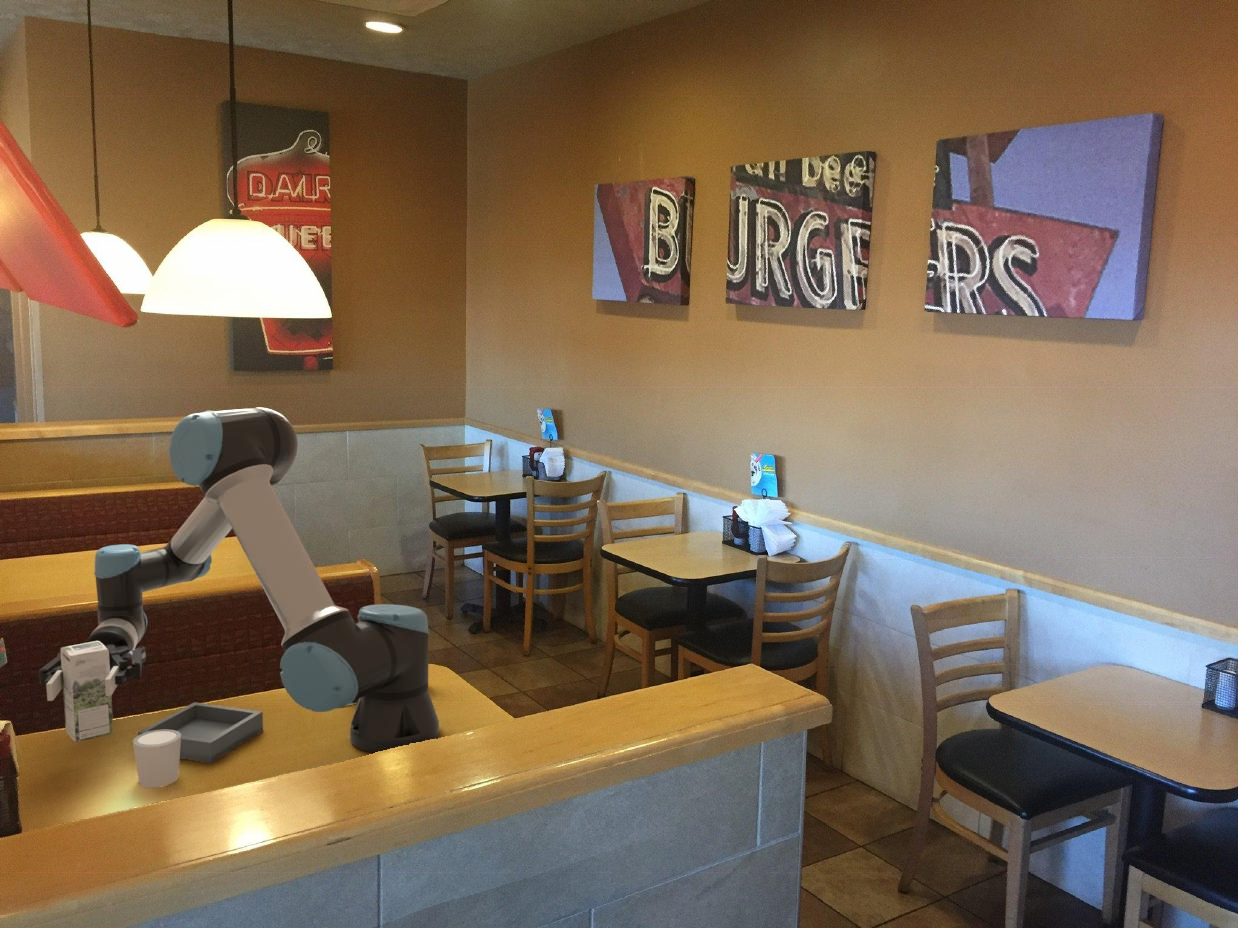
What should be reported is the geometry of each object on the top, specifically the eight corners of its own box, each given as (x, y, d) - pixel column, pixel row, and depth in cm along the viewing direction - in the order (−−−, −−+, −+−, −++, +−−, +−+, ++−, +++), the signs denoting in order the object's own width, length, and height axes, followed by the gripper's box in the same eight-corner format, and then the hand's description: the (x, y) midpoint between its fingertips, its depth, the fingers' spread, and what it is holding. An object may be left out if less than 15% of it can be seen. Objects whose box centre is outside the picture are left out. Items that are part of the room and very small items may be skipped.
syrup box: (103, 723, 167) (98, 638, 165) (114, 734, 162) (109, 647, 160) (65, 732, 163) (59, 645, 161) (75, 743, 159) (69, 654, 157)
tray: (263, 730, 178) (262, 711, 177) (211, 763, 164) (210, 742, 164) (195, 720, 181) (194, 702, 181) (139, 752, 168) (138, 731, 168)
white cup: (162, 792, 154) (160, 748, 153) (124, 785, 156) (122, 742, 155) (192, 773, 161) (190, 731, 160) (156, 767, 163) (154, 726, 162)
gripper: (173, 661, 182) (151, 707, 160) (47, 670, 176) (6, 719, 155) (171, 621, 181) (149, 661, 159) (44, 629, 175) (3, 672, 154)
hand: (79, 689), depth 157 cm, fingers closed on syrup box, 7 cm apart
